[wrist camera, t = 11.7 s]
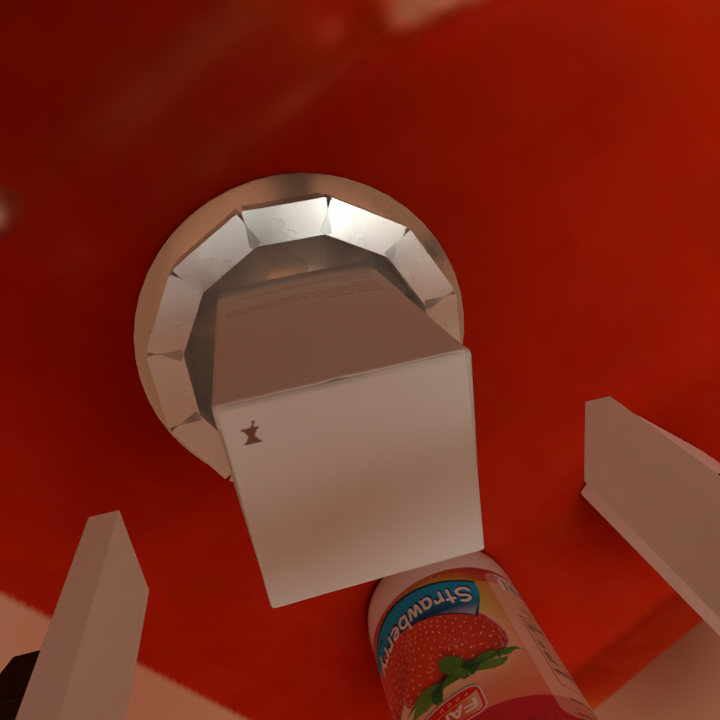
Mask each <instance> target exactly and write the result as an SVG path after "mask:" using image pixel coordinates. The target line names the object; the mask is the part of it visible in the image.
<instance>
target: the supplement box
mask: <svg viewBox="0 0 720 720" xmlns="http://www.w3.org/2000/svg"><path fill="white" fill-rule="evenodd" d="M211 407H212V412H213V416H214V419H215V423H216V426H217V429H218V432H219V436H220V439H221V442H222V445H223V449H224V452H225V455H226V459H227V462H228V465H229V469H230V472H231V475H232V479H233V482H234V485H235V488H236V492H237V495H238V498H239V501H240V505H241V508H242V511H243V515H244V518H245V521H246V524H247V528H248V531H249V534H250V537H251V540H252V544H253V547H254V550H255V553H256V556H257V560H258V563H259V566H260V569H261V572H262V576H263V579H264V583H265V586H266V590H267V594H268V597H269V601H270V604H271V606H272V607H273V608H277V607H281V606H285V605H288V604H291V603H295V602H298V601H302V600H305V599H308V598H312V597H316V596H319V595H322V594H326V593H329V592H333V591H336V590H340V589H343V588H347V587H351V586H354V585H358V584H361V583H365V582H369V581H372V580H376V579H379V578H383V577H386V576H390V575H394V574H397V573H401V572H404V571H408V570H411V569H415V568H418V567H422V566H426V565H429V564H433V563H437V562H440V561H444V560H447V559H451V558H455V557H458V556H462V555H466V554H469V553H473V552H477V551H480V550H482V549H484V541H483V529H482V518H481V506H480V495H479V484H478V467H477V449H476V432H475V414H474V396H473V380H472V359H471V352H470V351H469V349H467V348H466V347H465V346H464V345H462V344H461V343H460V342H458V341H457V340H456V339H455V338H453V337H452V336H451V335H450V334H449V333H448V332H446V331H445V330H444V329H443V328H442V327H441V326H440V325H438V324H437V323H436V322H435V321H434V320H433V319H432V318H430V317H429V316H428V315H427V314H426V313H425V312H424V311H422V310H421V309H420V308H419V307H418V306H417V305H416V304H415V303H414V302H412V301H411V300H410V299H409V298H408V297H407V296H405V295H404V294H403V293H402V292H401V291H400V290H399V289H398V288H396V287H395V286H394V285H393V284H392V283H391V282H389V281H388V280H387V279H386V278H385V277H384V276H383V275H381V274H380V273H379V272H378V271H377V270H375V269H374V268H373V267H372V266H371V265H370V264H368V263H367V262H366V261H362V262H357V263H352V264H346V265H340V266H335V267H330V268H325V269H320V270H315V271H310V272H305V273H300V274H295V275H291V276H286V277H281V278H276V279H271V280H266V281H262V282H257V283H252V284H247V285H242V286H237V287H232V288H227V289H222V290H219V291H218V293H217V312H216V331H215V351H214V370H213V391H212V404H211Z"/></svg>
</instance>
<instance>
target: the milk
mask: <svg viewBox="0 0 720 720" xmlns="http://www.w3.org/2000/svg"><path fill="white" fill-rule="evenodd" d="M637 416H638V415H637ZM638 417H639V418H641V419H642V420H643V421H645V422H646V423H648V424H649V425H650V426H652V427H653V428H655V429H656V430H657V431H659V432H660V433H661V434H663V435H664V436H666V437H667V438H668V439H670V440H671V441H673V442H674V443H675V444H677V445H678V446H679V447H681V448H682V449H684V450H685V451H686V452H688V453H689V454H691V455H692V456H693V457H695V458H696V459H697V460H699V461H700V462H702V463H703V464H704V465H706V466H707V467H709V468H710V469H711V470H713V471H714V472H715V473H717V474H719V473H720V463H719V462H717V461H716V460H715V459H713V458H712V457H710V456H709V455H707V454H706V453H704V452H703V451H701V450H699V449H698V448H696V447H694V446H692V445H690V444H689V443H687V442H685V441H683V440H681V439H680V438H678V437H676V436H674V435H672V434H671V433H669V432H667V431H665V430H663V429H662V428H660V427H658V426H656V425H654V424H653V423H651V422H649V421H647V420H645V419H644V418H642V417H640V416H638ZM580 493H581V494H582V496H583V497H584V498H585V499H586V500H587V501H588V502H589V503H590V504H591V505H592V506H593V507H594V508H595V509H596V510H597V511H598V512H599V513H600V514H601V515H602V516H603V517H604V518H605V519H606V520H607V521H608V522H609V523H610V524H611V525H612V526H613V527H614V528H615V529H616V530H617V531H618V532H619V533H620V534H621V536H622V537H623V538H624V539H625V540H626V541H627V542H628V543H629V544H630V545H631V546H632V547H633V548H634V549H635V550H636V551H637V552H638V553H639V554H640V555H641V556H642V557H643V558H644V559H645V560H646V561H647V562H648V563H649V564H650V565H651V566H652V567H653V568H654V569H655V570H656V571H657V572H658V573H659V574H660V575H661V576H662V577H663V578H664V580H665V581H666V582H667V583H668V584H669V585H670V586H671V587H672V588H673V589H674V590H675V591H676V592H677V593H678V594H679V595H680V596H681V597H682V598H683V599H684V600H685V601H686V602H687V603H688V604H689V605H690V606H691V607H692V608H693V609H694V610H695V611H696V612H697V613H698V614H699V615H700V616H701V617H702V618H703V619H704V620H705V621H706V622H707V624H709V626H710V627H711V628H712V629H713V630H714V631H715V632H716V633H717V634H718V635H719V636H720V618H719V617H718V616H717V615H716V614H715V613H714V612H713V611H712V610H711V609H710V608H709V607H708V606H707V605H706V604H705V603H704V602H703V601H702V600H701V599H700V598H699V597H698V596H697V595H696V594H695V593H694V592H693V591H692V590H691V589H690V588H689V587H688V586H687V585H686V584H685V583H684V582H683V581H682V580H681V579H680V578H679V577H678V576H677V575H676V574H675V573H674V571H673V570H672V569H671V568H670V567H669V566H668V565H667V564H666V563H665V562H664V561H663V560H662V559H661V558H660V557H659V556H658V555H657V554H656V553H655V552H654V551H653V550H652V549H651V548H650V547H649V546H648V545H647V544H646V543H645V542H644V541H643V540H642V539H641V538H640V537H639V536H638V535H637V534H636V533H635V532H634V531H633V530H632V529H631V528H630V527H629V526H628V525H627V524H626V523H625V522H624V521H623V520H622V519H621V518H620V517H619V516H618V515H617V514H616V513H615V512H614V511H613V510H612V509H611V508H610V507H609V506H608V505H607V504H606V503H605V501H604V500H603V499H602V498H601V497H600V496H599V495H598V494H597V493H596V492H595V491H594V490H593V489H592V488H591V487H590V486H589V485H588V484H587V483H586V485H585V486H584V488H583V489H582V490H581V492H580Z"/></svg>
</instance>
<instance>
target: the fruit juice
mask: <svg viewBox="0 0 720 720" xmlns="http://www.w3.org/2000/svg"><path fill="white" fill-rule="evenodd" d="M368 630H369V637H370V642H371V645H372V649H373V652H374V656H375V660H376V663H377V667H378V670H379V674H380V678H381V681H382V685H383V688H384V692H385V695H386V699H387V703H388V706H389V710H390V713H391V717H392V720H598V719H597V717H596V716H595V714H594V712H593V711H592V709H591V708H590V706H589V704H588V703H587V701H586V700H585V698H584V696H583V695H582V693H581V692H580V690H579V688H578V687H577V685H576V684H575V682H574V681H573V679H572V677H571V676H570V674H569V673H568V671H567V669H566V668H565V666H564V665H563V663H562V661H561V660H560V658H559V657H558V655H557V653H556V652H555V650H554V649H553V647H552V646H551V644H550V642H549V641H548V639H547V638H546V636H545V634H544V633H543V631H542V630H541V628H540V626H539V625H538V623H537V622H536V620H535V619H534V617H533V615H532V614H531V612H530V611H529V609H528V607H527V606H526V604H525V603H524V601H523V600H522V598H521V596H520V595H519V593H518V592H517V590H516V588H515V587H514V585H513V584H512V582H511V581H510V579H509V577H508V576H507V574H506V573H505V572H504V571H503V570H502V568H501V567H500V566H499V565H498V564H497V563H496V562H495V561H494V560H493V559H492V558H490V557H489V556H488V555H486V554H484V553H483V552H481V551H477V552H473V553H469V554H466V555H462V556H458V557H455V558H451V559H447V560H444V561H440V562H437V563H433V564H429V565H426V566H422V567H418V568H415V569H411V570H408V571H404V572H401V573H397V574H394V575H390V576H386V577H384V578H383V579H382V580H381V581H380V583H379V584H378V586H377V588H376V589H375V591H374V593H373V596H372V598H371V601H370V605H369V610H368Z"/></svg>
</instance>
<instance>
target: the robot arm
mask: <svg viewBox="0 0 720 720" xmlns="http://www.w3.org/2000/svg"><path fill="white" fill-rule="evenodd" d="M584 481H585V482H586V483H587V484H588V485H589V486H590V487H591V488H592V489H593V490H594V491H595V492H596V493H597V494H598V495H599V496H600V497H601V498H602V499H603V500H604V501H605V503H606V504H607V505H608V506H609V507H610V508H611V509H612V510H613V511H614V512H615V513H616V514H617V515H618V516H619V517H620V518H621V519H622V520H623V521H624V522H625V523H626V524H627V525H628V526H629V527H630V528H631V529H632V530H633V531H634V532H635V533H636V534H637V535H638V536H639V537H640V538H641V539H642V540H643V541H644V542H645V543H646V544H647V545H648V546H649V547H650V548H651V549H652V550H653V551H654V552H655V553H656V554H657V555H658V556H659V557H660V558H661V559H662V560H663V561H664V562H665V563H666V564H667V565H668V566H669V567H670V568H671V569H672V570H673V571H674V573H675V574H676V575H677V576H678V577H679V578H680V579H681V580H682V581H683V582H684V583H685V584H686V585H687V586H688V587H689V588H690V589H691V590H692V591H693V592H694V593H695V594H696V595H697V596H698V597H699V598H700V599H701V600H702V601H703V602H704V603H705V604H706V605H707V606H708V607H709V608H710V609H711V610H712V611H713V612H714V613H715V614H716V615H717V616H718V617H719V618H720V473H719V474H717V473H715V472H714V471H713V470H711V469H710V468H709V467H707V466H706V465H704V464H703V463H702V462H700V461H699V460H697V459H696V458H695V457H693V456H692V455H691V454H689V453H688V452H686V451H685V450H684V449H682V448H681V447H679V446H678V445H677V444H675V443H674V442H673V441H671V440H670V439H668V438H667V437H666V436H664V435H663V434H661V433H660V432H659V431H657V430H656V429H655V428H653V427H652V426H650V425H649V424H648V423H646V422H645V421H643V420H642V419H641V418H639V417H638V416H637V415H635V414H634V413H632V412H631V411H630V410H628V409H627V408H625V407H624V406H623V405H621V404H620V403H618V402H617V401H616V400H614V399H613V398H612V397H610V396H609V397H604V398H600V399H596V400H591V401H587V402H585V464H584ZM148 593H149V589H148V586H147V584H146V581H145V578H144V576H143V573H142V570H141V568H140V565H139V562H138V560H137V557H136V554H135V552H134V549H133V546H132V544H131V541H130V538H129V535H128V533H127V530H126V527H125V525H124V522H123V519H122V517H121V514H120V511H119V510H118V511H114V512H110V513H105V514H101V515H97V516H92V517H89V518H88V521H87V523H86V526H85V529H84V532H83V534H82V537H81V540H80V543H79V545H78V548H77V551H76V554H75V556H74V559H73V562H72V565H71V567H70V570H69V573H68V576H67V578H66V581H65V584H64V587H63V590H62V592H61V595H60V598H59V601H58V603H57V606H56V609H55V612H54V614H53V617H52V620H51V623H50V625H49V628H48V631H47V634H46V636H45V639H44V642H43V645H42V648H41V650H39V651H35V652H31V653H27V654H23V655H20V656H16V657H13V658H12V660H11V661H10V662H9V663H8V665H7V666H6V667H5V668H4V670H3V671H2V672H1V673H0V720H126V717H127V712H128V706H129V701H130V700H129V699H130V695H131V689H132V684H133V678H134V672H135V667H136V661H137V655H138V650H139V644H140V638H141V633H142V627H143V621H144V616H145V610H146V604H147V599H148Z"/></svg>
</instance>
